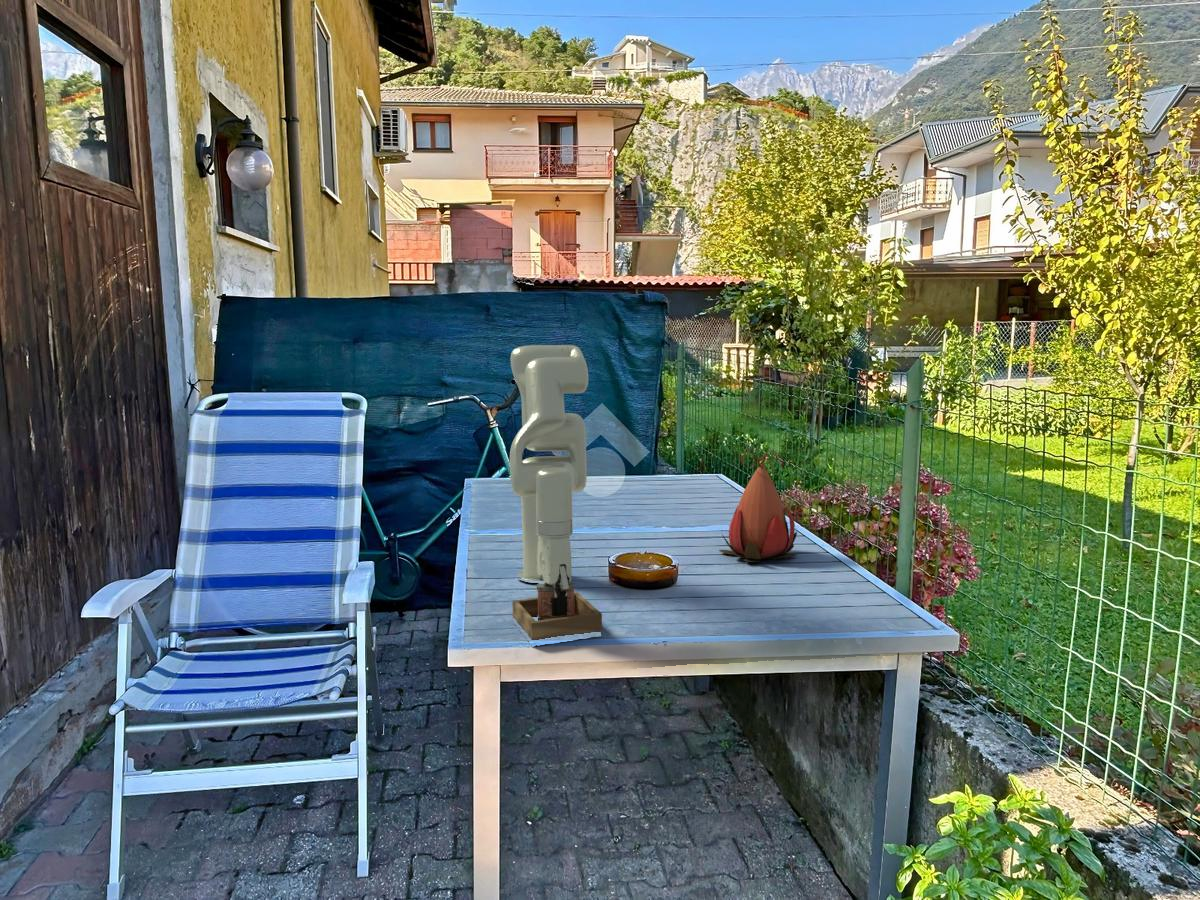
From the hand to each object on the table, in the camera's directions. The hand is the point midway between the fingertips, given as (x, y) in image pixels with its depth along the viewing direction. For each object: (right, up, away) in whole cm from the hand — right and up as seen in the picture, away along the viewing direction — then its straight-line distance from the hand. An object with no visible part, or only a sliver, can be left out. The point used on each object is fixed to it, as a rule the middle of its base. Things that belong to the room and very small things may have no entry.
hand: (556, 610), depth 169 cm
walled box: (0, -4, 0) cm, 4 cm away
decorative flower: (+54, +4, +56) cm, 77 cm away
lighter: (0, -2, 0) cm, 2 cm away
